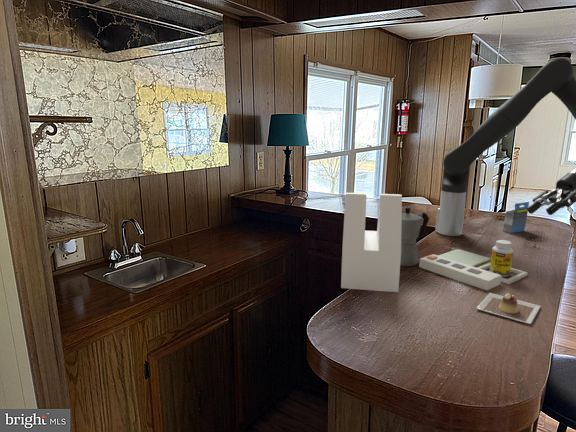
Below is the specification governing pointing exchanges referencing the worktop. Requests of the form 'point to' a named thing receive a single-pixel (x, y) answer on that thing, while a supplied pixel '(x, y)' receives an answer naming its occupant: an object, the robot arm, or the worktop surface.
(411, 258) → the coffeepot
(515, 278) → the white square frame
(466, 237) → the worktop surface
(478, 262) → the mat
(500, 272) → the supplement bottle
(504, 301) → the dessert
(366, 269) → the white slotted block
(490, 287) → the power strip
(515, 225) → the label tape box
